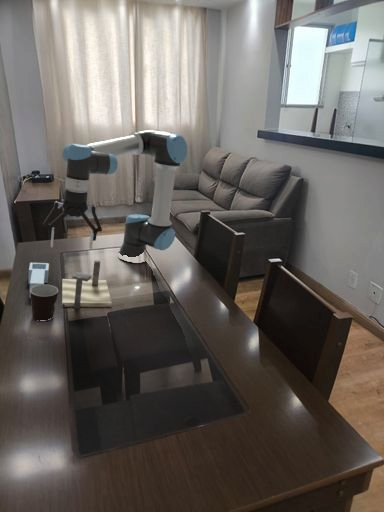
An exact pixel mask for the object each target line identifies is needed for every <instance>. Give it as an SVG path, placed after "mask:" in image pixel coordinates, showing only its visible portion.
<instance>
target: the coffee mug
mask: <svg viewBox="0 0 384 512" xmlns="http://www.w3.org/2000/svg"><path fill="white" fill-rule="evenodd" d="M29 295H31V298H30V302H31V303H30V304H31V315H32V319H33V318H34V319H35V320H34V319H33V320H34V321H36V320H39V321H40V320H48V319H50V318H52V317H53V318H54V315H55V314H54V313H55V310H56V305H57V300H58V295H59V289H58V287H56V286H54V285H51V284H43V285H36V286H34V287H32V288H31V289H30V288H29ZM53 318H52V319H53ZM39 321H38V322H39Z"/></svg>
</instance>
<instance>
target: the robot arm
mask: <svg viewBox="0 0 384 512" xmlns="http://www.w3.org/2000/svg"><path fill="white" fill-rule="evenodd" d="M187 154H188V144H187V141H186V139H185V138H184V137H183V136H182V135H180V134H178V133H174V132H168V131H164V130H159V129H145V130H140V131H136V132H135V131H134V132H131V133H129V135H126V136H123V137H117V138H113V139H108V140H104V141H98V142H92V143H89V144H88V143H87V144H79V143H71V144H67V145H65V146H64V148H63V150H62V159H63V161H64V162H65V163H67V164H66V177H65V185H64V186H65V191H64V200H63V202H59V201H58V200H55V201H54V205H53V208H52V209H51V210H50V212H49V214H48V215H47V216H46V218H45V219H44V221H43V222H42V227H44V228H46V229H47V237H48V238H50V248H53V247H54V238H55V237H54V236H55V226H57V225H58V224H59V223H60V222H61V221H62V220H64V218H66V217H67V216H69V217H76V218H82V219H83V220H84V221H85V222H86V223H87V225H88V227H89V228H90V229H91V230H90V237H89V245H88V247H89V250H90V251H92V250H93V244H94V243H93V242H95V241H96V240H97V235H98V233H99V232H101V233H102V231H103V228H102V225H101V223H100V221H99V219H98V218H99V217H98V216H97V213H96V205H94V204H92V205H87V202H88V190H89V182H90V175H92V174H94V175H112V174H115V173H116V171H117V169H118V166H119V162H118V159H117V158H121V157H124V156H125V157H126V156H129V155H134V156H139V155H147V156H151V157H154V159H153V161H154V162H153V163H154V164H155V166H156V172H155V173H156V174H155V181H154V182H155V183H154V189H153V190H154V191H153V192H154V193H153V200H152V209H151V216H149V215H145V214H136V213H135V214H128V215H127V216H126V220H125V224H124V234H123V242H122V244H121V247H120V249H119V250H120V251H118V253H120V254H121V255H122V256H123V255H127V256H128V257H136V256H139V255H140V254H142V253H143V252H144V250H145V249H147V246H149V247H151V248H153V249H155V250H158V251H167V250H168V249H169V248H170V247H171V245H173V243H174V241H175V238H176V232H175V229H173V228H172V225H173V223H172V221H171V220H170V218H171V217H170V215H171V208H172V201H173V200H172V199H173V196H174V195H173V193H174V185H175V178H176V171H177V169H178V168H180V166H181V163H183V162H184V161H185V160H186V158H187ZM61 207H62V208H63V209H64V210H62V212H61V213H60V214H59V215H58V216H57V217H56V218H55V219H54V220H52V219H53V217H54V216H55V214H56V212H57V211H58V209H61ZM88 210H89V212H90V213H91V214H92V217H93V219H94V222H95V224H96V226H95V225H94V223H93V222H92V221H91V219H90V218H89V217H88V215H87V214H86V211H88ZM51 220H52V221H51ZM50 221H51V222H50Z"/></svg>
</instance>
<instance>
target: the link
mask: <svg viewBox="0 0 384 512" xmlns="http://www.w3.org/2000/svg"><path fill="white" fill-rule="evenodd" d="M49 269H50V263H48V262H29V268H28V280H27V281H28V284H29V290H30V289H31V288H32V287H34V286H36V285H43V284H44V283H49ZM28 296H29V297H28V298H29V299H31V295H30V294H29V295H28Z"/></svg>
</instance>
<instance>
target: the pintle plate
mask: <svg viewBox="0 0 384 512" xmlns="http://www.w3.org/2000/svg"><path fill="white" fill-rule="evenodd" d="M100 268H101V260H98V259H95V260H94V261H93V271H92V274H89V273H83V272H80V271H76V272H75V273H74V274H73V275H72V276H71V278H62V281H61V285H62V286H61V287H62V288H61V305H62V304H64V305H65V306H64V307H73V308H74V309H75V310H78V309H80V308H81V307H87V308H88V307H89V308H90V307H93V308H94V307H98V308H99V307H102V308H103V307H104V308H105V307H106V308H108V307H109V308H110V307H112V304H113V303H112V299H111V295H110V292H109V285H108V283H107V280H106V279H105V280H104V279H100V270H101V269H100Z"/></svg>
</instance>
